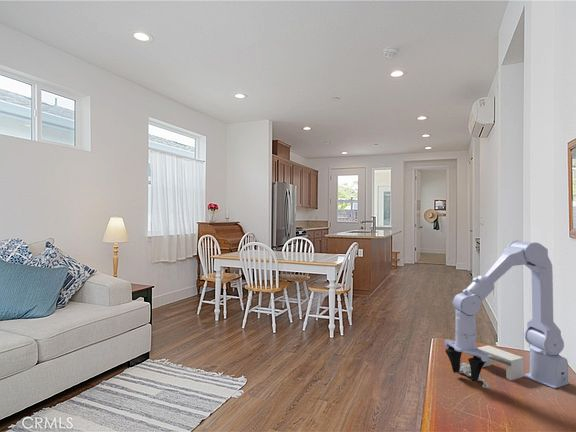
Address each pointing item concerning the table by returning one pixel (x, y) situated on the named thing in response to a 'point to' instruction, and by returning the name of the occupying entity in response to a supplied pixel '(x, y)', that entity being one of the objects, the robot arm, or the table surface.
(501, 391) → the table surface
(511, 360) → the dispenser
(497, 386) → the table surface
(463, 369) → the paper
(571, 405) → the table surface
